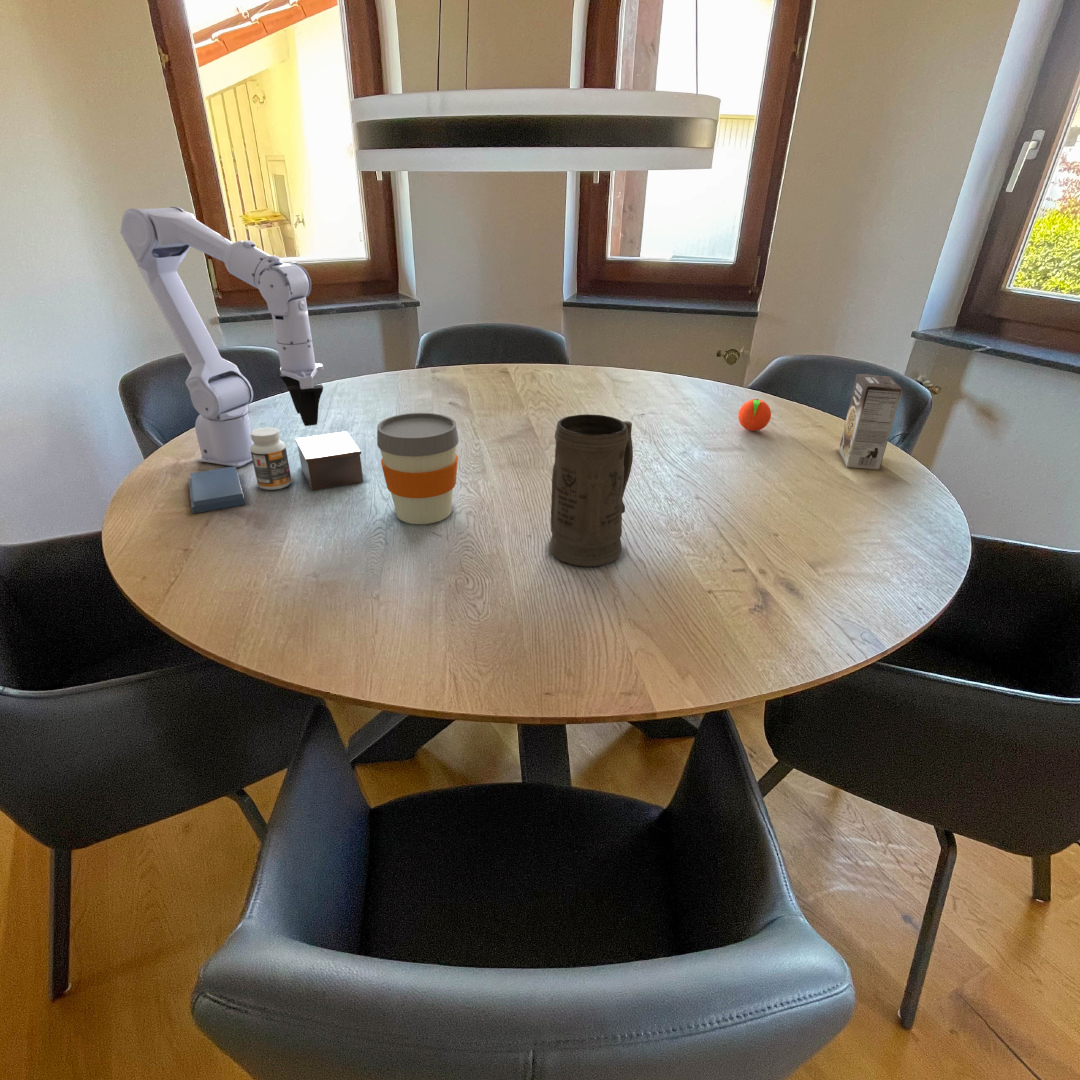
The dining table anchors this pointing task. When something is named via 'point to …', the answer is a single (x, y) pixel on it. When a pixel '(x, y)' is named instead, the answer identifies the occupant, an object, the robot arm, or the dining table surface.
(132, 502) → the dining table surface
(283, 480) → the pill bottle
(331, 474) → the walnut box
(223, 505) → the blue flat block
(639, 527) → the dining table surface
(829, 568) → the dining table surface
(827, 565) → the dining table surface
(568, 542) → the beer stein
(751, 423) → the clementine
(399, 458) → the reusable coffee cup
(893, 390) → the coffee box
